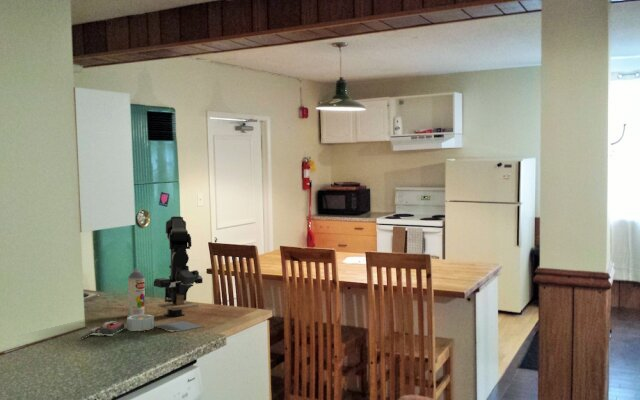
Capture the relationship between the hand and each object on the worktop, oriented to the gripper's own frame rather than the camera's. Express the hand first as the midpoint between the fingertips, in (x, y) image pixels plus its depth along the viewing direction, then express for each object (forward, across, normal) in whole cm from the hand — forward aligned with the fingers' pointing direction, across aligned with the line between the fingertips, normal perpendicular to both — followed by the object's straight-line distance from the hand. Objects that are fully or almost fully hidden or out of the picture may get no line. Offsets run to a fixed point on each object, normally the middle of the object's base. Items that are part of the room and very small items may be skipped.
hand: (178, 303), depth 221 cm
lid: (+1, 0, 0) cm, 1 cm away
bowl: (+9, -12, +7) cm, 17 cm away
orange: (+7, -12, +7) cm, 15 cm away
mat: (+9, 0, 0) cm, 9 cm away
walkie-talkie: (+10, -26, +8) cm, 29 cm away
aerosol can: (+10, -2, +29) cm, 31 cm away
